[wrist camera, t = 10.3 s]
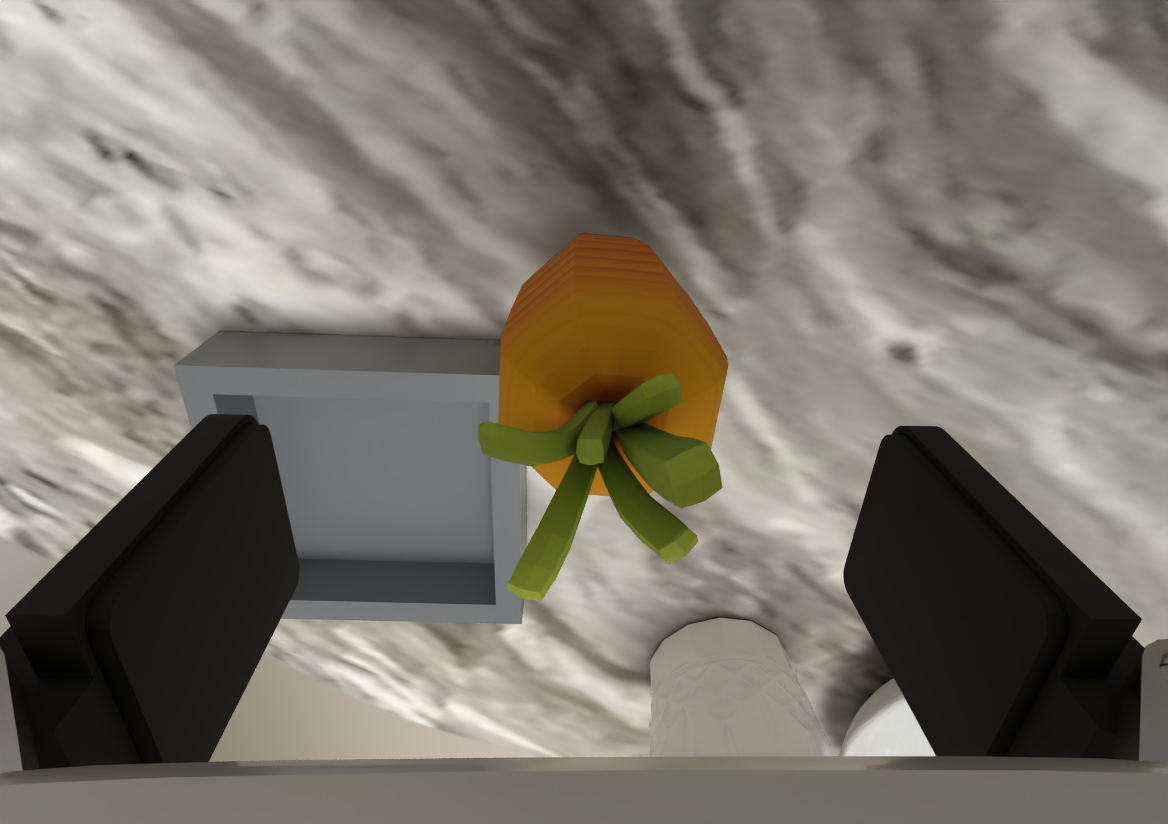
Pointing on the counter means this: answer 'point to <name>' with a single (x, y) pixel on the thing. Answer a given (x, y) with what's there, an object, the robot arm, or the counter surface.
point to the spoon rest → (885, 727)
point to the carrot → (607, 398)
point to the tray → (379, 468)
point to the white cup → (729, 695)
